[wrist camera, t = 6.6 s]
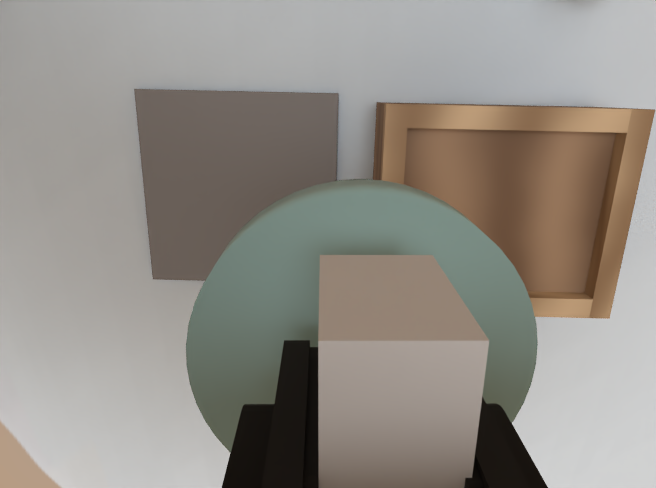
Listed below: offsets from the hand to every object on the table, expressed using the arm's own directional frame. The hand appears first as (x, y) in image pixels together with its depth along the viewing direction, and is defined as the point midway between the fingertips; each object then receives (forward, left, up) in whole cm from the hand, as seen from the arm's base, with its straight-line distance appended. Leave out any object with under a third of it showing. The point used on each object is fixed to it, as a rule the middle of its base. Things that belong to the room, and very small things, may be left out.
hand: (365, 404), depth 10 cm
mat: (-7, 0, -23) cm, 25 cm away
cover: (0, 0, -3) cm, 3 cm away
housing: (+9, 0, -23) cm, 25 cm away
